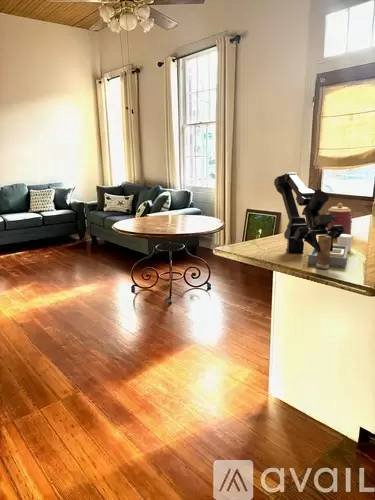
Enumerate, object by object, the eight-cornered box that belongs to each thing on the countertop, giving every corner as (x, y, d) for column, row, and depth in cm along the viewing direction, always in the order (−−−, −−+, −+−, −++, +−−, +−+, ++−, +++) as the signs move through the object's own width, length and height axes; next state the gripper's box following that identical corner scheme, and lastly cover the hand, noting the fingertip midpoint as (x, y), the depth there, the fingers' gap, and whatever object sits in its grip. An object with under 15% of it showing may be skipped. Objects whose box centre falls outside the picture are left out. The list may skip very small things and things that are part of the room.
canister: (331, 232, 205) (334, 200, 200) (355, 236, 196) (358, 202, 191) (319, 236, 197) (322, 203, 192) (343, 240, 187) (346, 205, 183)
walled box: (307, 264, 150) (308, 252, 148) (314, 252, 167) (314, 241, 166) (345, 268, 144) (346, 255, 142) (347, 255, 161) (348, 244, 160)
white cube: (341, 252, 165) (342, 237, 164) (332, 248, 172) (334, 234, 170) (355, 251, 167) (356, 236, 165) (346, 247, 173) (347, 233, 171)
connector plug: (318, 268, 142) (320, 238, 139) (314, 265, 146) (317, 235, 143) (330, 268, 141) (333, 238, 138) (326, 264, 146) (329, 235, 143)
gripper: (298, 206, 140) (310, 241, 132) (344, 204, 143) (358, 238, 135) (289, 223, 150) (299, 256, 142) (331, 221, 152) (344, 253, 145)
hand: (325, 251), depth 141 cm, fingers closed on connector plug, 5 cm apart
